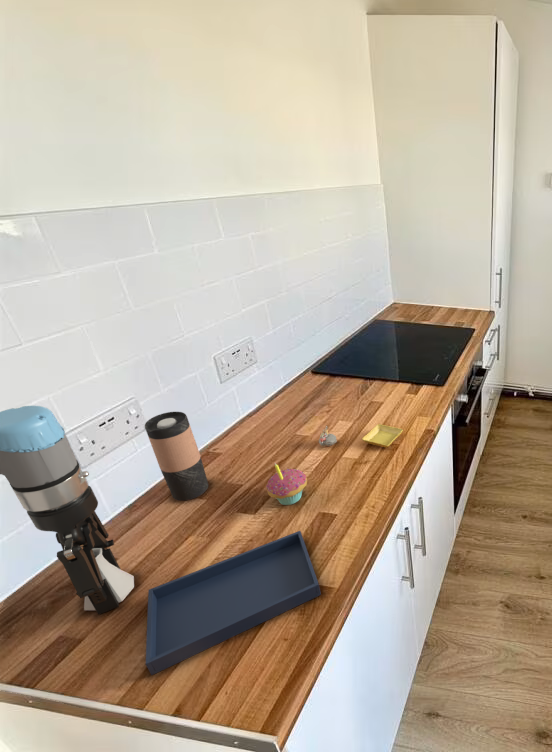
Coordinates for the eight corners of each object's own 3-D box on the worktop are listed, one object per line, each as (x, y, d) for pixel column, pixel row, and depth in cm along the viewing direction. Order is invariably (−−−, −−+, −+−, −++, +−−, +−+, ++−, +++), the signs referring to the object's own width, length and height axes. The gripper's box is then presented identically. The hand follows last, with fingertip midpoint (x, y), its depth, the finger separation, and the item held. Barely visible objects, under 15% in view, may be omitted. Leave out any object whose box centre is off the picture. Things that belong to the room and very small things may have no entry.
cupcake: (295, 513, 98) (286, 472, 93) (261, 508, 99) (250, 466, 94) (316, 488, 106) (309, 448, 101) (285, 483, 107) (275, 443, 102)
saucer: (361, 445, 123) (360, 439, 122) (378, 429, 130) (378, 423, 129) (388, 451, 120) (387, 445, 120) (404, 435, 128) (403, 429, 127)
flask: (94, 582, 81) (73, 544, 76) (141, 572, 83) (123, 534, 79) (75, 617, 75) (51, 578, 70) (126, 605, 77) (106, 566, 73)
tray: (151, 675, 67) (145, 664, 66) (153, 600, 78) (148, 589, 77) (321, 594, 81) (318, 584, 80) (302, 540, 92) (300, 530, 91)
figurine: (340, 443, 123) (338, 425, 120) (328, 451, 119) (325, 433, 117) (326, 437, 125) (323, 420, 122) (314, 446, 121) (311, 428, 119)
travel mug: (213, 477, 108) (191, 408, 99) (205, 497, 101) (181, 426, 93) (176, 483, 105) (150, 414, 96) (166, 505, 99) (138, 432, 90)
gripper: (81, 527, 64) (134, 625, 74) (97, 456, 78) (139, 546, 88) (8, 550, 60) (74, 650, 70) (39, 470, 74) (90, 563, 84)
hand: (110, 592), depth 79 cm, fingers closed on flask, 7 cm apart
